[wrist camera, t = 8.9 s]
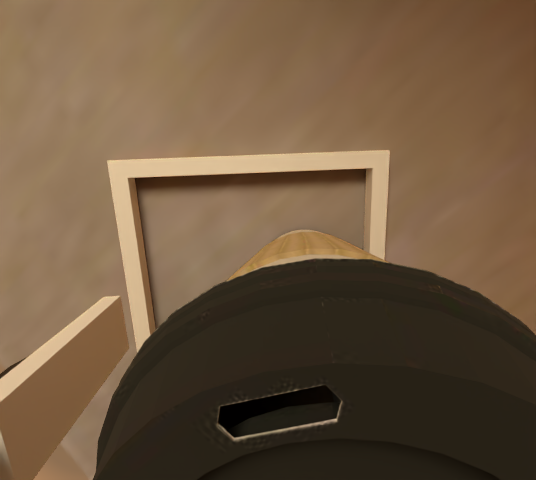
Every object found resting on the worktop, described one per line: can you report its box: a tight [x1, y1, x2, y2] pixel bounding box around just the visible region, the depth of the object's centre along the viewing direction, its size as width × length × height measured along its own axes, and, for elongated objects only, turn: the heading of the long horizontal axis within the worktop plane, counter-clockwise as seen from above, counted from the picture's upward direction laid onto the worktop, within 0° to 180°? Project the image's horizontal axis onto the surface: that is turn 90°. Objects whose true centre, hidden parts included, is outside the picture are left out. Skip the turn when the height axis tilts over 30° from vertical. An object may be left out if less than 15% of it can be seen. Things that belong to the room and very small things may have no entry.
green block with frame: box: [107, 150, 390, 353], centre depth 16 cm, size 25×16×8 cm, turn 2°
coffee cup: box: [93, 230, 536, 480], centre depth 11 cm, size 10×10×15 cm
